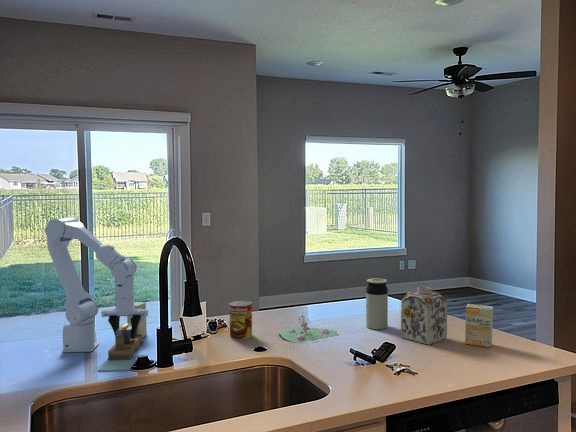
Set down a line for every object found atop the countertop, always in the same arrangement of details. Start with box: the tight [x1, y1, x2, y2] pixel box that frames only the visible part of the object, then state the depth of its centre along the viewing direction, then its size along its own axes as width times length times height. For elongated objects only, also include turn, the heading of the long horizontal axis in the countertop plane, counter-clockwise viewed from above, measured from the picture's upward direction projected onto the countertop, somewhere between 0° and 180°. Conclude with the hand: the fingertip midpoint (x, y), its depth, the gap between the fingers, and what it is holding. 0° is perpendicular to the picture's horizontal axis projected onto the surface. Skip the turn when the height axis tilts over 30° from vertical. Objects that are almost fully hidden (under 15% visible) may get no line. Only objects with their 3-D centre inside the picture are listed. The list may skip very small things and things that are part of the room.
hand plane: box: [106, 331, 144, 361], centre depth 161 cm, size 17×7×7 cm, turn 4°
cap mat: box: [97, 359, 137, 373], centre depth 148 cm, size 9×8×1 cm
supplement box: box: [464, 303, 494, 348], centre depth 165 cm, size 8×5×13 cm, turn 62°
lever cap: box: [116, 323, 133, 342], centre depth 161 cm, size 4×6×5 cm
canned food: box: [229, 300, 253, 340], centre depth 176 cm, size 8×8×12 cm
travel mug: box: [365, 277, 389, 331], centre depth 186 cm, size 8×8×18 cm
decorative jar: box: [400, 286, 448, 346], centre depth 172 cm, size 12×12×18 cm
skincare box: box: [126, 301, 148, 339], centre depth 176 cm, size 6×4×12 cm
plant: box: [277, 312, 339, 344], centre depth 178 cm, size 25×21×9 cm
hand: (125, 338), depth 161 cm, fingers closed on lever cap, 4 cm apart
